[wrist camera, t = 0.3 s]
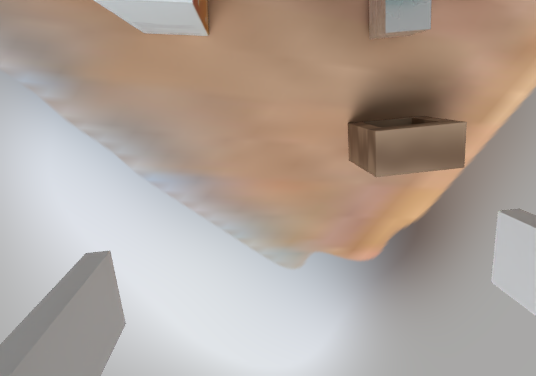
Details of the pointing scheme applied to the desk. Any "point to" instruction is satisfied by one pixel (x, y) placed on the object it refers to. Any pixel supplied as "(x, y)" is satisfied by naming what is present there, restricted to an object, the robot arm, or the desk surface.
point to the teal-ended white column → (398, 18)
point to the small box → (162, 15)
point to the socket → (407, 145)
